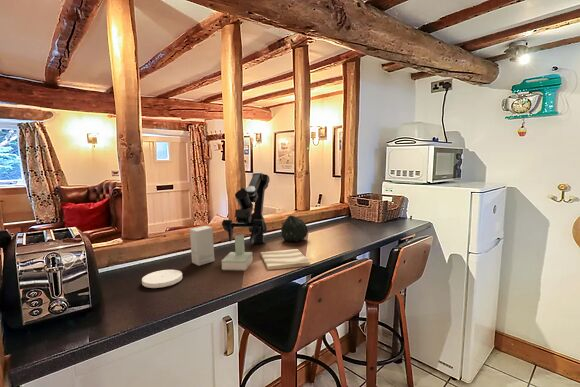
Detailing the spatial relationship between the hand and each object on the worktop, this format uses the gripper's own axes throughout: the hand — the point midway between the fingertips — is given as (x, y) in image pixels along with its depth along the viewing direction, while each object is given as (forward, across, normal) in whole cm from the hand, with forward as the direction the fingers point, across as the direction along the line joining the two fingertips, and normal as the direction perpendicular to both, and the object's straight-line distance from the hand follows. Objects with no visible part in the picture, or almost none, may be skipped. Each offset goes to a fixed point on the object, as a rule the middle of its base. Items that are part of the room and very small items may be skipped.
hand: (240, 241), depth 137 cm
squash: (-20, +20, +33) cm, 43 cm away
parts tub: (+10, 0, +3) cm, 10 cm away
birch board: (+4, +19, +8) cm, 21 cm away
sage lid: (+8, 0, +1) cm, 8 cm away
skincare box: (+8, -17, +6) cm, 19 cm away
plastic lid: (+24, -23, -10) cm, 35 cm away
